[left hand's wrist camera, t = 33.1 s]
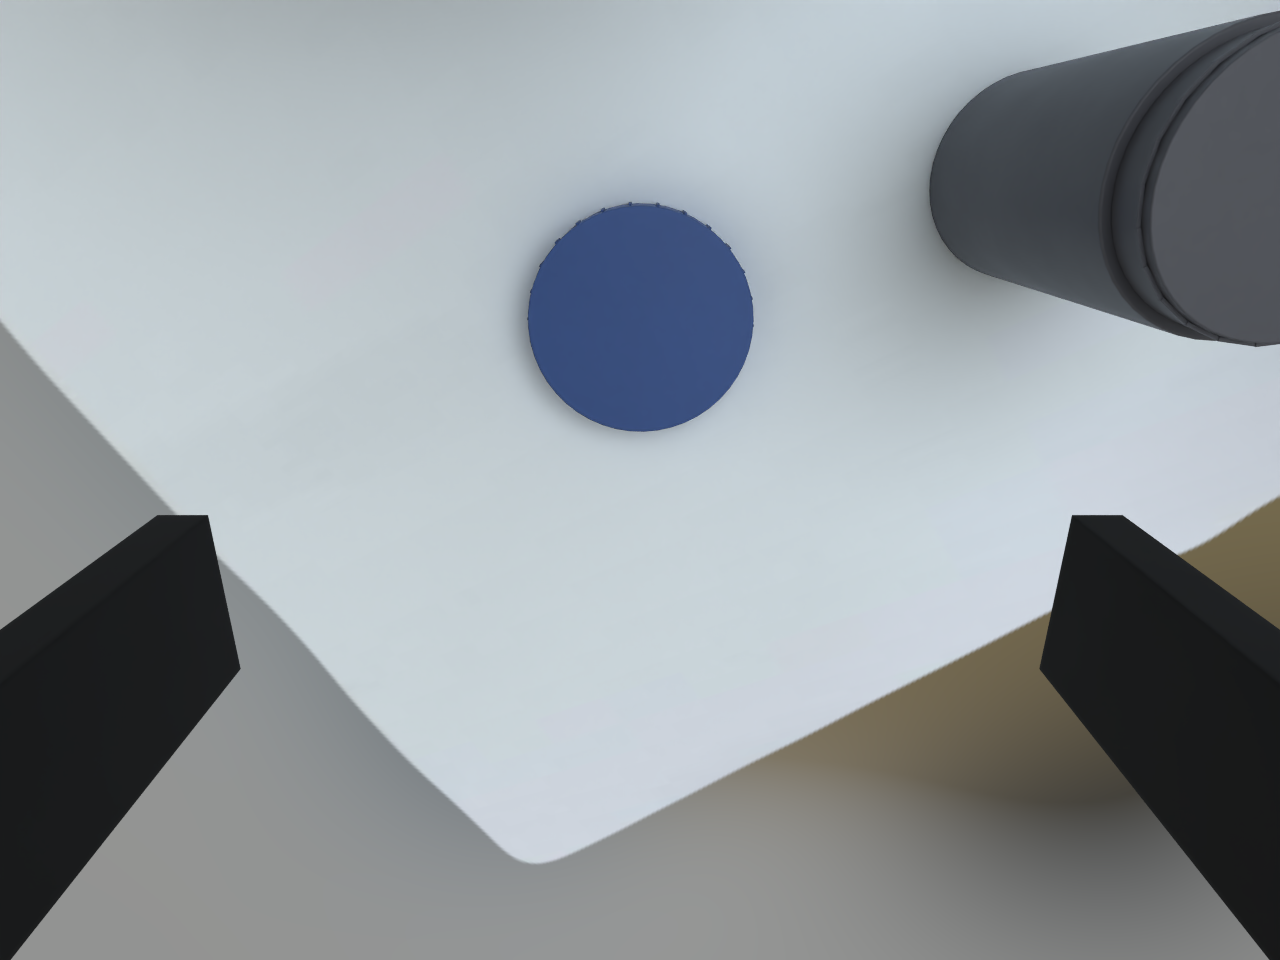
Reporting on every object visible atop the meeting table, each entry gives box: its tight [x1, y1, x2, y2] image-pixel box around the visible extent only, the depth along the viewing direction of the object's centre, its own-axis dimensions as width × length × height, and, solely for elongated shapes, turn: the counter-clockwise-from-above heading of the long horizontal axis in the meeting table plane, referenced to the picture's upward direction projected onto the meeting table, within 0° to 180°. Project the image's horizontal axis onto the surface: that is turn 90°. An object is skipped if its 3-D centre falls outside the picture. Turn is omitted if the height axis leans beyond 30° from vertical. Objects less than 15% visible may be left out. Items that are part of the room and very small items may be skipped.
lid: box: [528, 202, 754, 432], centre depth 36 cm, size 10×10×2 cm
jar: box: [930, 11, 1280, 347], centre depth 28 cm, size 8×8×16 cm
